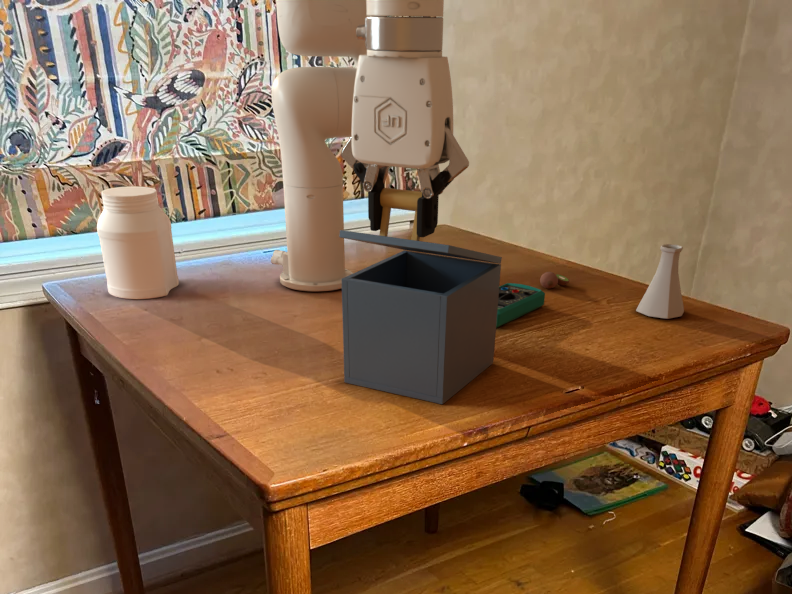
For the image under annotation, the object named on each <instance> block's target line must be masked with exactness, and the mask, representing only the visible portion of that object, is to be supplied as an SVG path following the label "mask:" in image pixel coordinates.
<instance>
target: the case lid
mask: <svg viewBox="0 0 792 594" xmlns="http://www.w3.org/2000/svg"><path fill="white" fill-rule="evenodd" d="M420 197H422V191H417V190H409V189H399V188H391V187H385V188H383V190H382V191H381V195H380V203H381V206H382V207H383V211H382V218H381V226H380V230H379V234H373V233H372V234H371V233H365V232H357V231H351V230H345V229H344V230H340V234H339V237H340V238H344V240H345V239H346V240H351V241H355V242H361V243H365V244H371V245H376V246H382V247H386V248H392V249H396V250H397V249H398V250H402V251H404V250H406V251H413V252H420V253H426V254H433V255H440V256H447V257H454V258H461V259H467V260H474V261H481V262H488V263H495V264H501V265H502V259H503V257H502V256H499V255H494V254H489V253H486V252H480V251H476V250H473V249H468V248H463V247H459V246H454V245H450V244H445V243H437V242H429V241H423V240H420V238H421V237H418V235H417V200H418V198H420ZM392 209H394V210H401V211H409V212H410V211H411V212H414V215H413V216H414V217H413V225H412V231H411V238H410V239H408V238H402V237H394V236H388V235H389V227H390V221H391V214H392V213H391V212H392Z"/></svg>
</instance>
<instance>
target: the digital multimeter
mask: <svg viewBox="0 0 792 594" xmlns="http://www.w3.org/2000/svg"><path fill="white" fill-rule="evenodd" d="M545 298H546V293H545V292H544V291H543V290H542V289H540V288H537V287H534V286H531V285H527V284H523V283H514V282H506V283H504V284H502V285H499V297H498V310H497V323H496V329H497V328H500V327H502V326H504V325H506V324H508V323H510V322H513V321H514V320H516V319H518V318H520V317H522V316H525V315H527V314H529V313H531V312H533V311H536V310H538V309H539V308H541V307H543V306H544V305H545V300H546V299H545Z"/></svg>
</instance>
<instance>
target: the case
mask: <svg viewBox="0 0 792 594" xmlns="http://www.w3.org/2000/svg"><path fill="white" fill-rule="evenodd" d="M501 270H502V263H501V264H498V263H491V262H484V261H477V260H470V259H464V258H457V257H450V256H443V255H436V254H429V253H422V252H416V251H409V250H402V251H400V252H397V253H395V254H393V255H391V256H388V257H386V258H384V259H382V260H380V261H377V262H375V263H374V264H371V265H369V266H367V267H364V268H362V269H359V270H358V271H355V272H353V274H351V275H349V276H347V277H344V278H342V289H341V309H342V310H341V311H342V312H341V313H342V346H343V377H344V379H343V380H344V383H345V384H349V385H353V386H358V387H362V388H366V389H372V390H376V391H380V392H385V393H391V394H394V395H397V396H403V397H408V398H412V399H415V400H416V399H417V400H422V401H426V402H430V403H435V404H439V405H444V404H445V403H447V401H448V400H450V399H451V398H452V397H453V396H454V395H456V394H458V392H460V391H461V390H462V389H463V388H465V387H466V386H467V385H468V384H470V383H471V382H472V381H473V380H474V379H476V378H477V377H478V376H479V375H480V374H482V373H484V371H486V370H487V369H488V368H489V367H490V366H492V365H493V364H494V358H495V348H496V347H495V346H496V334H497V328H496V323H497V310H498V297H499V287H500V281H501Z"/></svg>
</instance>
